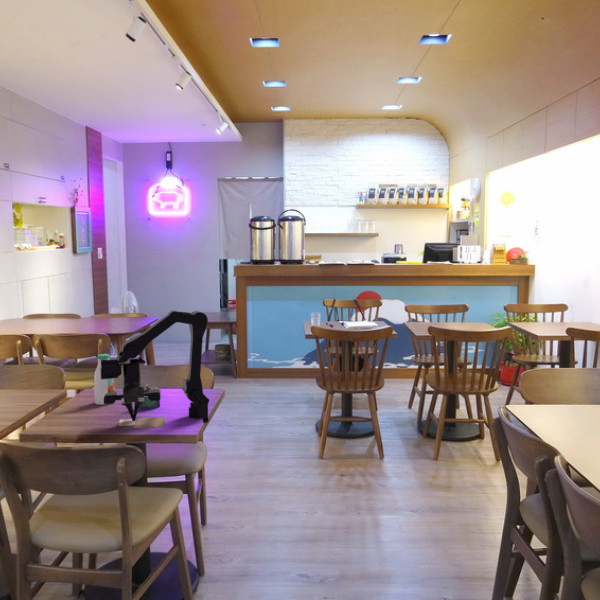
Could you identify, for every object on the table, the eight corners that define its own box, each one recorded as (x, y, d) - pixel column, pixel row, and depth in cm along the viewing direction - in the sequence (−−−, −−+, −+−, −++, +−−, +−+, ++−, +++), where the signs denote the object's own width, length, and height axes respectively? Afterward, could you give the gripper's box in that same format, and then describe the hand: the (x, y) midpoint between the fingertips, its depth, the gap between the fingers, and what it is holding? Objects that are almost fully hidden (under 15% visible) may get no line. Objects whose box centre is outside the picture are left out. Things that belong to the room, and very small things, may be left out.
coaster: (135, 424, 198) (135, 418, 197) (134, 428, 193) (133, 422, 193) (120, 425, 197) (120, 419, 196) (118, 429, 192) (118, 423, 192)
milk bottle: (102, 406, 224) (100, 356, 222) (91, 403, 228) (89, 354, 227) (118, 402, 230) (117, 354, 228) (107, 399, 235) (106, 352, 233)
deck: (165, 420, 203) (165, 416, 203) (164, 430, 191) (164, 426, 191) (137, 422, 201) (136, 418, 201) (134, 432, 189) (134, 428, 189)
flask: (135, 413, 213) (134, 386, 212) (135, 411, 215) (134, 384, 215) (160, 411, 216) (159, 384, 215) (159, 409, 218) (159, 382, 218)
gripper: (100, 383, 184) (102, 429, 185) (158, 379, 188) (160, 425, 189) (104, 376, 195) (106, 420, 196) (160, 373, 199) (161, 416, 200)
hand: (133, 420), depth 195 cm, fingers closed, pressing on coaster
